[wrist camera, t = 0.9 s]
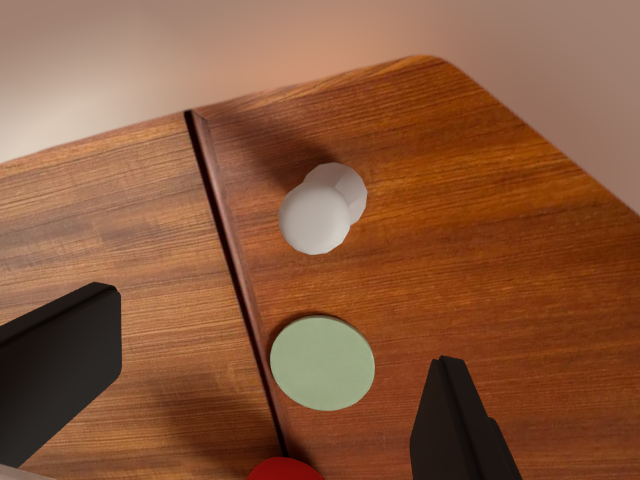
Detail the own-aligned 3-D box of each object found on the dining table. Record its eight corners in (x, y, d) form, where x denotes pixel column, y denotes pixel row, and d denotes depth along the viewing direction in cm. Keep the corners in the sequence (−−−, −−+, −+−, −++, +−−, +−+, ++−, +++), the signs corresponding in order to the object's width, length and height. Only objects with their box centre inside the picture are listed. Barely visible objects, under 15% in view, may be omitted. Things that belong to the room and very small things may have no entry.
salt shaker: (344, 148, 31) (324, 147, 18) (379, 201, 31) (384, 235, 19) (292, 186, 32) (241, 208, 20) (327, 236, 33) (300, 288, 20)
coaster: (251, 346, 37) (249, 349, 37) (333, 295, 34) (333, 298, 34) (311, 422, 38) (310, 426, 38) (395, 379, 36) (395, 383, 35)
